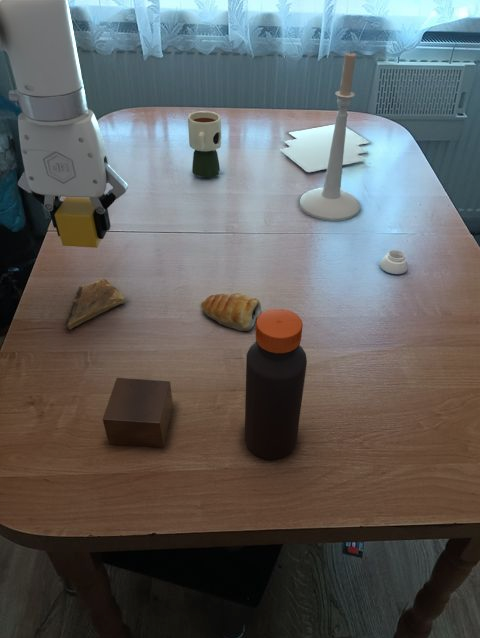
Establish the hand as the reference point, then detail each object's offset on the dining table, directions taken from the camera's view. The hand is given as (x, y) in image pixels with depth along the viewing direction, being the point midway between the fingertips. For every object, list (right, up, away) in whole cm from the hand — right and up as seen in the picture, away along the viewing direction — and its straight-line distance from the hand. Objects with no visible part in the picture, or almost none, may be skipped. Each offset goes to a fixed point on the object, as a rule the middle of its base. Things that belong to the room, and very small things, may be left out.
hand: (83, 231), depth 78 cm
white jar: (+50, -2, +22) cm, 55 cm away
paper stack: (+42, +34, +60) cm, 80 cm away
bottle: (+27, -29, -8) cm, 40 cm away
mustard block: (0, -1, +1) cm, 1 cm away
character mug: (+13, +23, +46) cm, 53 cm away
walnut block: (+10, -27, -7) cm, 30 cm away
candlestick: (+40, +14, +38) cm, 57 cm away
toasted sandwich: (-1, -11, +10) cm, 15 cm away
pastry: (+21, -12, +10) cm, 26 cm away
